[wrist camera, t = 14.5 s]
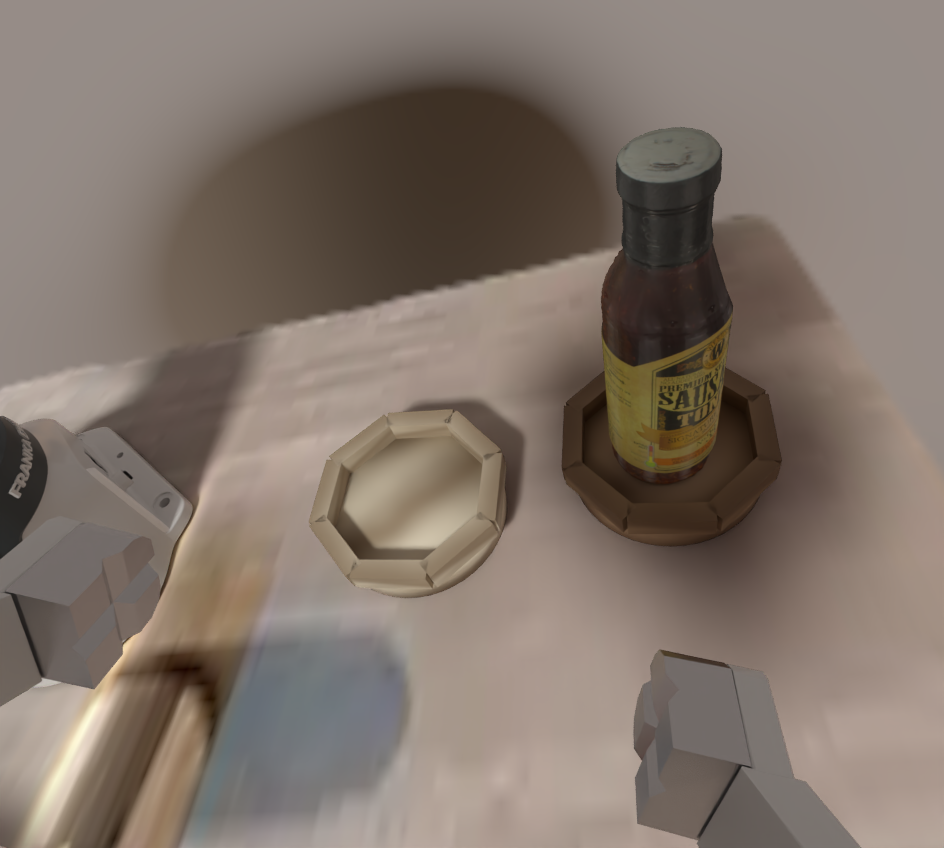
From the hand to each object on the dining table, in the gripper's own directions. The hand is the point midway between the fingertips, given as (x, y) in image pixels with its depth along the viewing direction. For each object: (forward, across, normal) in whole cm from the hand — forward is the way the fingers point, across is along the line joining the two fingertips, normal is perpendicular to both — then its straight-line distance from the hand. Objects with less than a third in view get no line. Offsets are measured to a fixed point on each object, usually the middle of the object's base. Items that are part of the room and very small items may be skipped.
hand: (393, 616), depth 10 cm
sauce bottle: (+29, -10, +13) cm, 33 cm away
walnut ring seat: (+30, -10, +14) cm, 35 cm away
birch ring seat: (+27, +5, +20) cm, 34 cm away
